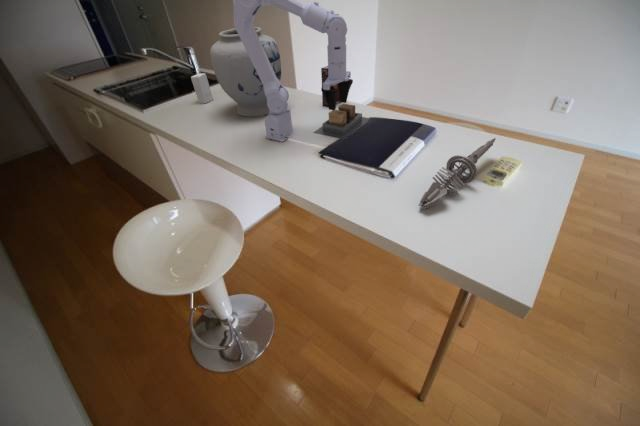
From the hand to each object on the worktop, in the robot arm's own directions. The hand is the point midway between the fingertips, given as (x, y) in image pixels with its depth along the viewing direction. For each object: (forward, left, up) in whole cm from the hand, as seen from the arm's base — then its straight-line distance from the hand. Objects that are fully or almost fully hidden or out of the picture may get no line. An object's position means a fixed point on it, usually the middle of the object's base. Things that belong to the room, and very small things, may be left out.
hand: (337, 105), depth 98 cm
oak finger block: (0, 0, -8) cm, 8 cm away
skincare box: (+2, +75, -9) cm, 76 cm away
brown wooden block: (+6, 0, -8) cm, 10 cm away
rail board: (+3, 0, -9) cm, 10 cm away
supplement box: (+21, +15, -9) cm, 28 cm away
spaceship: (-14, -44, -10) cm, 47 cm away
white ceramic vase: (+4, +44, -9) cm, 45 cm away
